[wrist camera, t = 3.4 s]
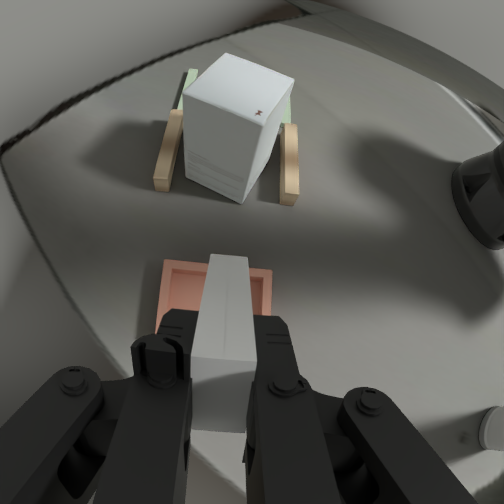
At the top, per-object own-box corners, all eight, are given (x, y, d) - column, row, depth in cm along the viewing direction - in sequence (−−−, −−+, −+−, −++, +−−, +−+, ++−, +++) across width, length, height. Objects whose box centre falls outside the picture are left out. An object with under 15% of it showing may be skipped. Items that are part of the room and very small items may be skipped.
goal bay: (189, 72, 41) (189, 68, 40) (287, 85, 42) (289, 81, 42) (177, 114, 37) (176, 110, 37) (289, 128, 39) (290, 124, 39)
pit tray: (166, 265, 31) (164, 259, 29) (268, 276, 32) (272, 269, 30) (157, 344, 28) (154, 342, 26) (264, 353, 29) (269, 352, 27)
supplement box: (270, 159, 37) (299, 79, 25) (241, 206, 34) (263, 127, 23) (215, 133, 37) (226, 50, 26) (182, 176, 34) (179, 91, 23)
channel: (172, 122, 37) (171, 109, 35) (291, 137, 39) (296, 124, 36) (155, 190, 33) (152, 178, 31) (292, 206, 35) (299, 194, 33)
